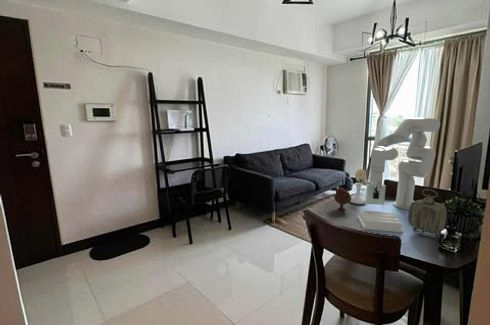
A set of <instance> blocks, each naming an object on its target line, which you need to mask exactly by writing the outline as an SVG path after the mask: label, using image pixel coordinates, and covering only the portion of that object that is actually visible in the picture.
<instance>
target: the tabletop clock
mask: <svg viewBox="0 0 490 325" xmlns="http://www.w3.org/2000/svg"><path fill="white" fill-rule="evenodd" d="M424 191H430V192H433V193H435V194H436V195H435V196H431V194H428V195H427V194H425V193H424ZM421 194H422V195H423V196H425V197H424V198H423V199H416V200H414V201H415V202H412V203H411V205H410V208H409V209H408V212H407V213H408V217H407V219H408V224H409V226H411V227H412V228H413V230H414V231H417V230H420V231H421V233H419V235H420V237H424V236H425V235H424V232H426V233H430V234H434V235H435V238H437V239H440V235H439V234H438V232H440V231H442V230H443V229H444V228H445V225H446V223H447V216H448V211H447V207H446V206H445V205H444V204H442V203H439V202H435V200H434V198H437V197H438V192H437V191H436V190H434V189H432V188H424V189H423V190H422V191H421Z"/></svg>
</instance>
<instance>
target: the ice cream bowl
mask: <svg viewBox="0 0 490 325" xmlns="http://www.w3.org/2000/svg"><path fill="white" fill-rule="evenodd" d="M351 198H352V195H351V194H350V192H349V191H348V190H347V189H344V187H338V188H336V190H335V193H334V194H333V199H334V200H335V202H336V203H337V204H339V205H340V207H337V208H336V210H337V211H338V212H342V213H343V212H346V211H347V209H346V208H344V205H347V204H348V203H351V202H350V200H351Z"/></svg>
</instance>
